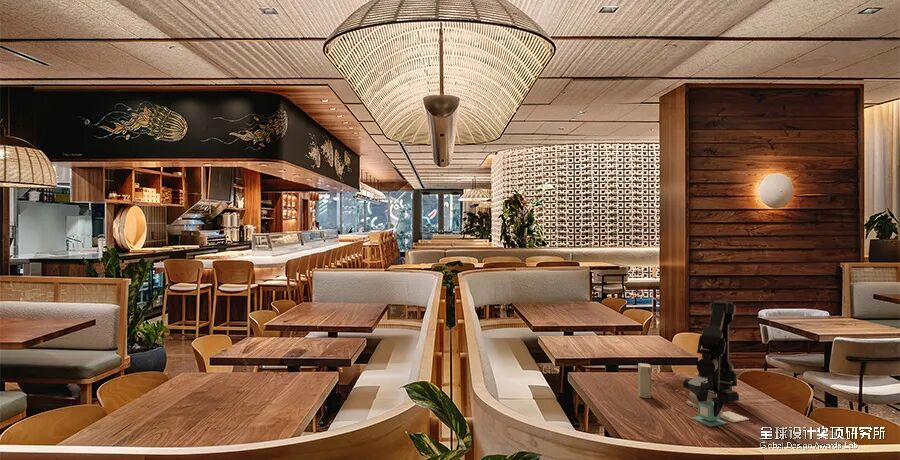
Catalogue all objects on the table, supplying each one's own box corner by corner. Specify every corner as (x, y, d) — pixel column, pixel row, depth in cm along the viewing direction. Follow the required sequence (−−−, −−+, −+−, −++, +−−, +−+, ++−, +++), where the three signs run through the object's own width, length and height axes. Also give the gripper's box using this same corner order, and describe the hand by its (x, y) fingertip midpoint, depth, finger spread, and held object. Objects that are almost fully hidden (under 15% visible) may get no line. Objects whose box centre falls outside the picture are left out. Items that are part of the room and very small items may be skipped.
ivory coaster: (729, 412, 203) (729, 411, 203) (749, 419, 195) (749, 418, 195) (713, 414, 199) (713, 413, 199) (733, 422, 192) (733, 421, 192)
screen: (693, 402, 212) (694, 380, 212) (722, 414, 200) (723, 390, 200) (685, 404, 211) (686, 381, 211) (714, 415, 199) (715, 391, 199)
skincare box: (651, 398, 216) (652, 367, 216) (639, 397, 217) (640, 366, 217) (648, 393, 222) (649, 363, 222) (637, 392, 223) (638, 362, 223)
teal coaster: (707, 415, 198) (707, 414, 198) (727, 423, 191) (727, 422, 191) (691, 418, 195) (691, 417, 195) (710, 426, 187) (710, 425, 187)
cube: (708, 414, 196) (708, 400, 196) (720, 419, 191) (720, 404, 191) (697, 416, 194) (698, 401, 194) (709, 420, 189) (710, 406, 189)
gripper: (672, 364, 198) (671, 408, 198) (717, 378, 181) (715, 426, 181) (695, 362, 202) (693, 404, 203) (740, 375, 185) (739, 422, 186)
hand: (709, 413), depth 193 cm, fingers closed on cube, 5 cm apart
